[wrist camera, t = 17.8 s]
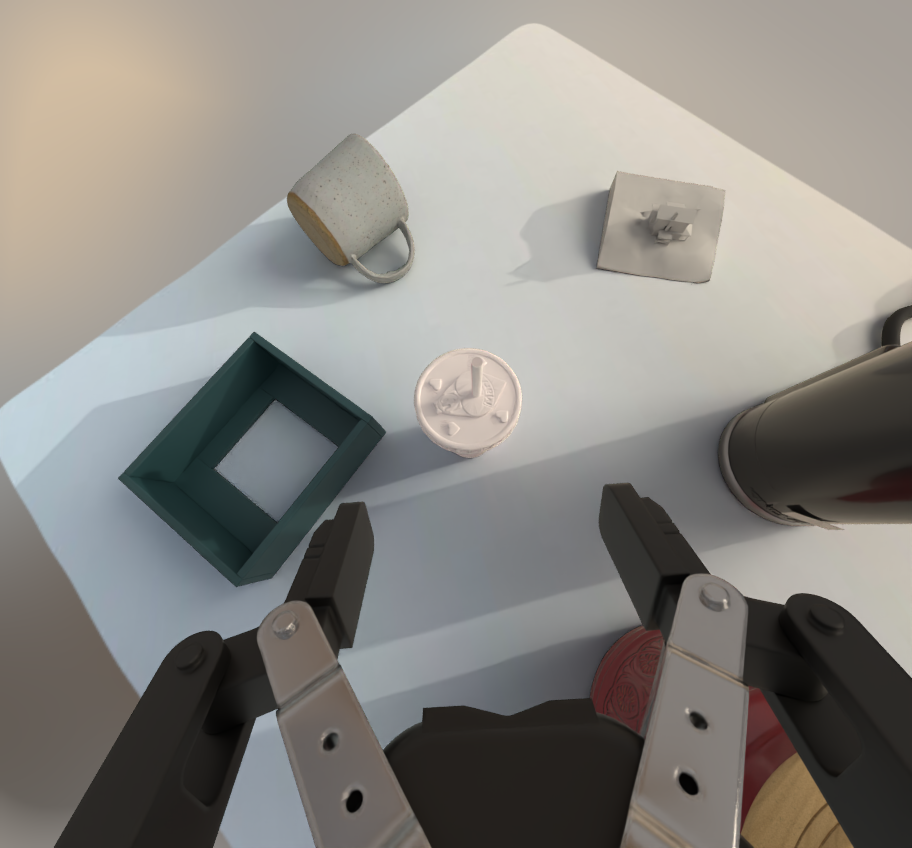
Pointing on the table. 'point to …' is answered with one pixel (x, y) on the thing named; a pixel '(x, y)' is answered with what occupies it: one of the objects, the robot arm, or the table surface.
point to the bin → (216, 432)
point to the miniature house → (661, 228)
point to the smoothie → (468, 401)
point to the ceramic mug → (351, 205)
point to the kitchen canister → (766, 755)
